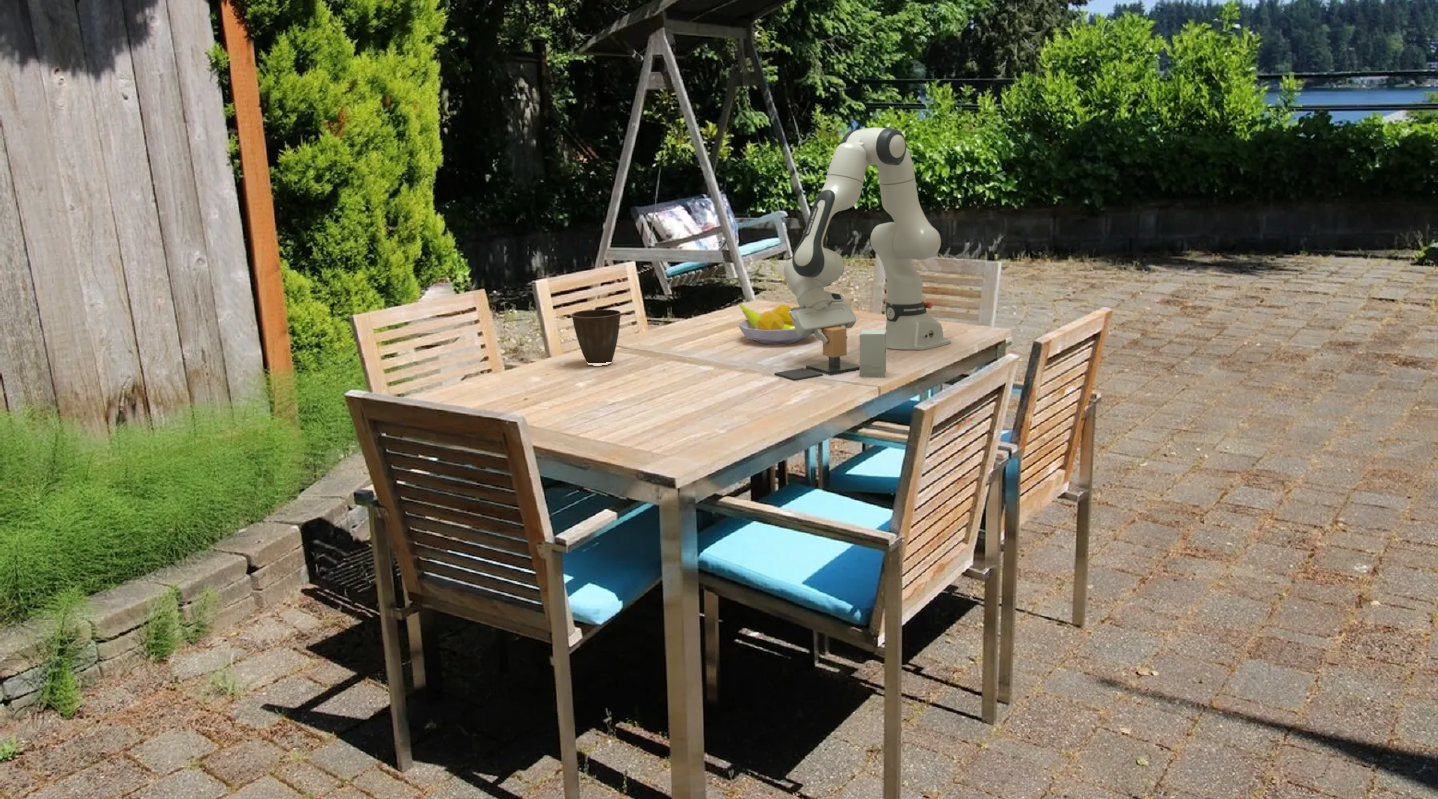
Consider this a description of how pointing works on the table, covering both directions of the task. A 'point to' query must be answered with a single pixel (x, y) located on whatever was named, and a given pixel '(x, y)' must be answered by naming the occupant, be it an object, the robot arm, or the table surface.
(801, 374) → the mat
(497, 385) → the table surface
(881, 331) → the supplement box
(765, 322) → the fruit bowl
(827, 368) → the post stand
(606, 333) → the plant pot
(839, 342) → the tan rectangular pillar
